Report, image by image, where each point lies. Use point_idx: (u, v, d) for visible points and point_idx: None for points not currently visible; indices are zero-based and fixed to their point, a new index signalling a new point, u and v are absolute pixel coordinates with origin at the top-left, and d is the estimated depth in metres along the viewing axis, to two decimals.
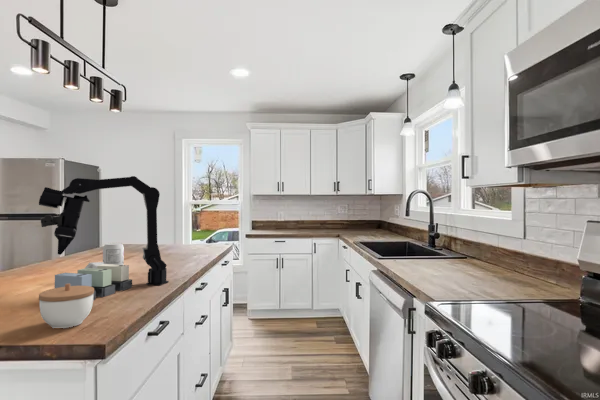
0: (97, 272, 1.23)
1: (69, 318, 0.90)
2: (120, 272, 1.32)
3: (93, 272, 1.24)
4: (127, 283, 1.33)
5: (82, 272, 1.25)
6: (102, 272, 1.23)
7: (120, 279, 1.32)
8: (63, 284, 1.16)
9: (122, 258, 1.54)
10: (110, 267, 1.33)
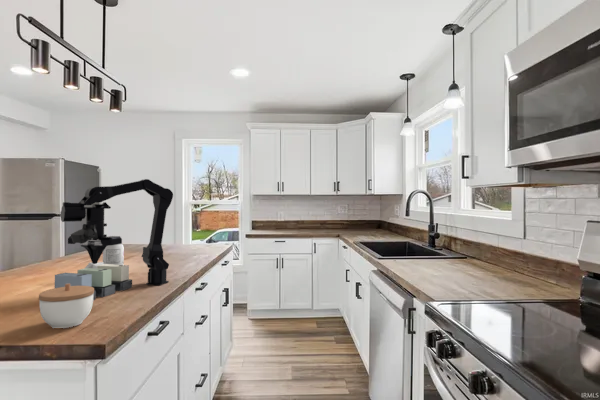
0: (97, 272, 1.23)
1: (69, 318, 0.90)
2: (120, 272, 1.32)
3: (93, 272, 1.24)
4: (127, 283, 1.33)
5: (82, 272, 1.25)
6: (102, 272, 1.23)
7: (120, 279, 1.32)
8: (63, 284, 1.16)
9: (122, 258, 1.54)
10: (110, 267, 1.33)
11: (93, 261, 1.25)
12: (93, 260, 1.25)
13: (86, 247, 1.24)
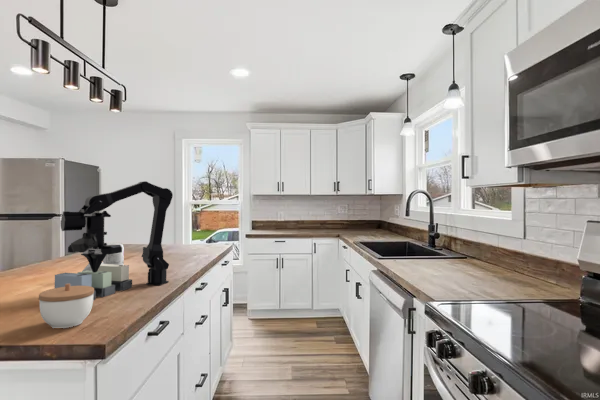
0: (97, 275, 1.23)
1: (69, 318, 0.90)
2: (120, 272, 1.32)
3: (93, 275, 1.24)
4: (127, 283, 1.33)
5: None
6: (102, 275, 1.23)
7: (120, 279, 1.32)
8: (63, 284, 1.16)
9: (122, 258, 1.54)
10: (110, 267, 1.33)
11: (93, 270, 1.25)
12: (93, 269, 1.25)
13: (86, 256, 1.24)
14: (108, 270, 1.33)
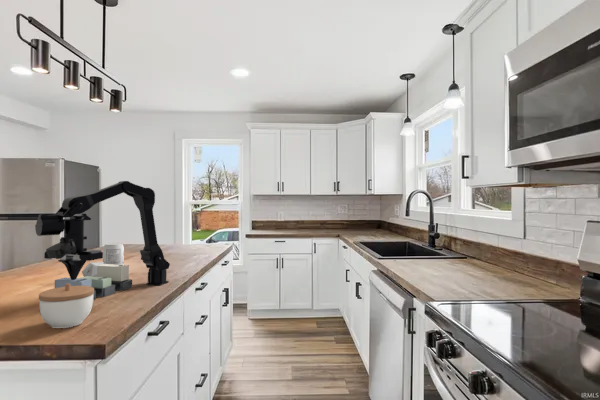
0: (97, 281, 1.23)
1: (69, 318, 0.90)
2: (120, 272, 1.32)
3: (93, 281, 1.24)
4: (127, 283, 1.33)
5: None
6: (102, 281, 1.23)
7: (120, 279, 1.32)
8: None
9: (122, 258, 1.54)
10: (110, 267, 1.33)
11: (72, 277, 1.17)
12: (72, 276, 1.16)
13: (64, 262, 1.15)
14: (108, 270, 1.33)
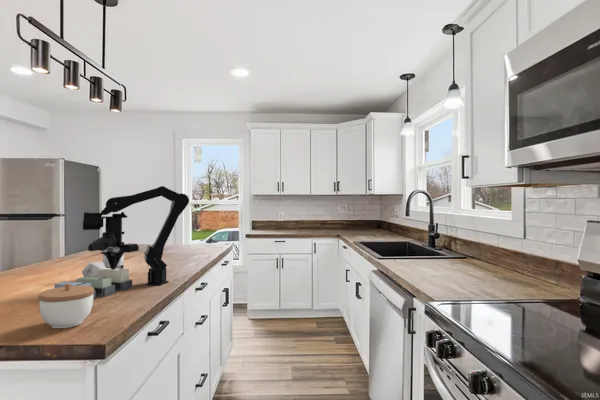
0: (97, 281, 1.23)
1: (69, 318, 0.90)
2: (120, 276, 1.32)
3: (93, 281, 1.24)
4: (127, 283, 1.33)
5: (82, 281, 1.25)
6: (102, 281, 1.23)
7: None
8: None
9: (122, 258, 1.54)
10: (110, 271, 1.33)
11: (112, 267, 1.34)
12: (112, 266, 1.34)
13: (105, 254, 1.33)
14: (108, 274, 1.33)
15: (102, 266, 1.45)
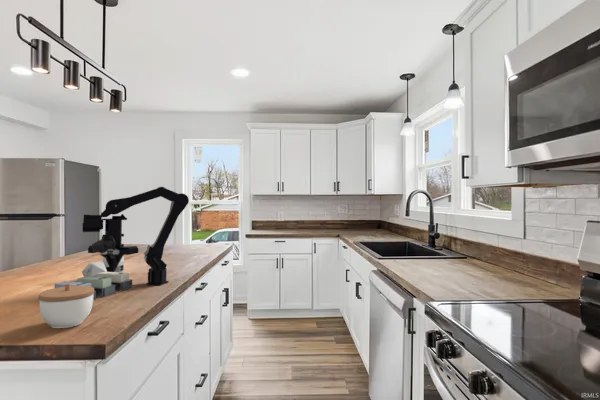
0: (97, 281, 1.23)
1: (69, 318, 0.90)
2: (120, 280, 1.32)
3: (93, 281, 1.24)
4: (127, 283, 1.33)
5: (82, 281, 1.25)
6: (102, 281, 1.23)
7: None
8: None
9: (122, 258, 1.54)
10: (110, 275, 1.33)
11: (111, 269, 1.34)
12: (111, 268, 1.34)
13: (105, 256, 1.33)
14: None
15: (102, 266, 1.45)
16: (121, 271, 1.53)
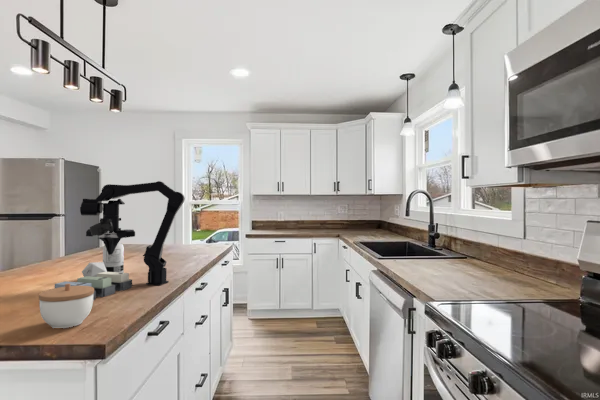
0: (97, 281, 1.23)
1: (69, 318, 0.90)
2: (120, 280, 1.32)
3: (93, 281, 1.24)
4: (127, 283, 1.33)
5: (82, 281, 1.25)
6: (102, 281, 1.23)
7: None
8: None
9: (122, 258, 1.54)
10: (110, 275, 1.33)
11: (109, 252, 1.38)
12: (109, 251, 1.38)
13: (103, 239, 1.37)
14: None
15: (102, 266, 1.45)
16: (121, 271, 1.53)
